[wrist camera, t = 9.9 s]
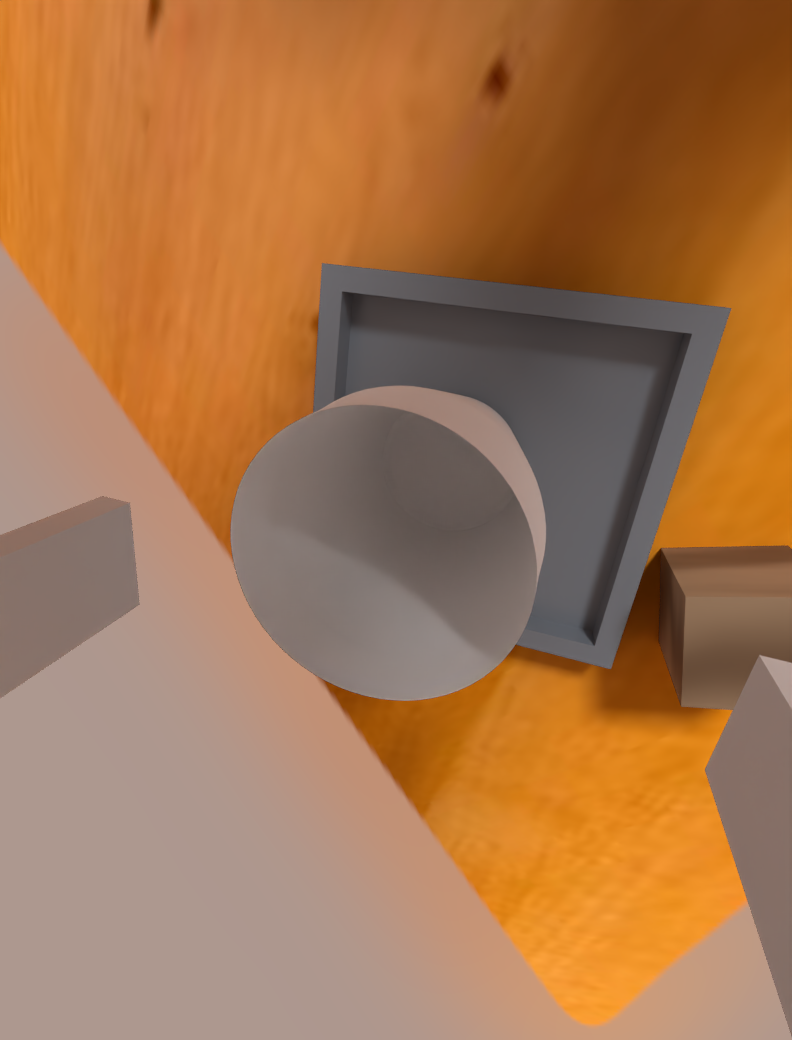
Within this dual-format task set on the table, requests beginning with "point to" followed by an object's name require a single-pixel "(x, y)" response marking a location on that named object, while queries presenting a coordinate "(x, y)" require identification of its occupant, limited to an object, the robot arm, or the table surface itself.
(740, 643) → the walnut cube
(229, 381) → the table surface
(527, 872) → the table surface
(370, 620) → the cup
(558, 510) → the tray
